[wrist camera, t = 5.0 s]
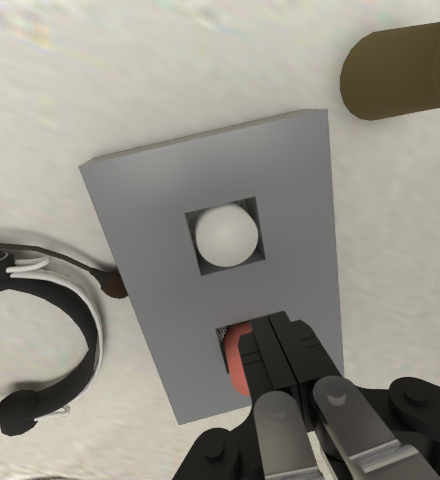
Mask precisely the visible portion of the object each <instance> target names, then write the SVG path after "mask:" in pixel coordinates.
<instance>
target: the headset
mask: <svg viewBox="0 0 440 480" xmlns="http://www.w3.org/2000/svg"><path fill="white" fill-rule="evenodd" d="M0 248H6V249H19V250H32V251H38V252H41V253H44V254H47V255H50V256H54V257H57V258H60V259H63V260H65V261H67V262H70V263H72V264H74V265H76V266H78V267H80V268H82V269H85V270H87V271H89V273H90V274H91V275H93V276H94V277H95V278H96V279H97V280H98V282H99V283H100V285H101V290H102V291H103V292H105V293H106V294H107V295H108V296H110V297H113V298H118V299H121V298H125V297H127V296H128V293H127V290H126V288H125V285H124V283H123V280H122V277H121V275H120V273H118V272H116V271H112V272H104V271H100V270H98V269H95V268H91V267H89V266H87V265H85V264H82V263H80V262H78V261H76V260H74V259H72V258H70V257H68V256H65V255H62V254H59V253H56V252H53V251H50V250H47V249H44V248H41V247H37V246H26V245H15V244H4V243H0ZM50 260H51V257H49V256H44V257H41V258H37V259H28V260H15V259H14V255H12V254H10V253H9V252H6V251H0V291H3V290H7V289H12V290H16V291H21V292H25V293H30V294H32V295H35V296H38V297H40V298H43V299H45V300H47V301H48V302H50V303H52V304H54V305H55V306H57V307H59V308H60V309H62V310H63V311H64V312H65V313H66V314H68V315H69V316H70V317H71V318H72V319H73V321H74V322H75V323H76V324H77V325H78V326H79V328H80V329H81V331H82V333H83V335H84V336H85V339H86V342H87V345H88V348H89V351H88V352H87V354H86V356H85V357H84V359H83V361H82V362H81V363H80V364H79V366H78V367H77V368H76V369H75V370H74V371H73V372H72V373H70V374H69V375H68V376H67V377H66V378H64V379H63V380H61V381H60V382H58V383H56V384H55V385H53V386H50V387H48V388H46V389H44V390H41V391H38V392H34V391H33V390H20V391H17V392H14V393H11V394H10V395H9V396H7V397H6V398H4V399H3V400H2V401H1V402H0V428H1V432H2V433H3V434H5V435H8V436H15V435H20V434H23V433H25V432H27V431H28V430H30V429H31V428H33V427H34V426H35V425H36V423H37V422H38V421H39V420H43V419H47V418H54V417H63V416H66V415H67V414H68V413H69V412H70V407H69V406H68V404H70V403H72V402H74V401H75V400H77V399H79V398H81V397H82V396H83V395H84V394H85V393H86V392H87V391H89V389H90V388H91V386H92V385H93V383H94V382H95V381H96V379H97V376H98V373H99V369H100V366H101V361H102V353H103V332H102V322H101V319H100V315H99V311H98V309H97V307H96V305H95V303H94V301H93V299H92V297H91V295H90V294H89V293H88V292H87V291H86V290H85V288H84V287H83V286H82V285H81V284H79V283H78V282H77V281H75V280H74V279H72V278H70V277H67V276H65V275H62V274H60V273H57V272H54V271H48V270H42V269H39V268H41V267H43V266H45V265H47V264H48V263H50ZM29 264H34V265H29ZM16 265H28V266H19V267H16ZM97 329H98V330H97ZM97 333H99V347H100V353H99V358H98V361H97V364H96V367H95V370H94V371H93V368H94V362H95V353H96V343H97ZM60 408H64V409H65V411H64V412H54V411H56V410H58V409H60ZM52 412H54V413H52Z"/></svg>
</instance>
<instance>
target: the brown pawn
mask: <svg viewBox="0 0 440 480" xmlns="http://www.w3.org/2000/svg"><path fill="white" fill-rule="evenodd" d="M340 91H341V95H342V98H343V101H344V104H345V105H346V107H347V108H348V109H349V111H350V112H351V113H352V114H354V115H355V116H357V117H358V118H360V119H365V120H370V121H372V120H377V119H383V118H388V117H393V116H398V115H404V114H409V113H414V112H419V111H425V110H430V109H435V108H440V22H437V23H430V24H424V25H417V26H411V27H404V28H397V29H391V30H384V31H378V32H373V33H371V34H370V35H368V36H366V37H364V38H362V39H361V40H360V41H359V42H358V43H357V44H356V45H355V46H354V47H353V48H352V49H351V51H350V53H349V55H348V57H347V58H346V60H345V62H344V65H343V69H342V73H341V76H340Z"/></svg>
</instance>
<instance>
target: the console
mask: <svg viewBox="0 0 440 480" xmlns="http://www.w3.org/2000/svg"><path fill="white" fill-rule="evenodd" d="M79 169H80V172H81V174H82V177H83V179H84V182H85V185H86V187H87V190H88V192H89V195H90V198H91V200H92V203H93V205H94V208H95V210H96V213H97V216H98V218H99V221H100V223H101V226H102V228H103V231H104V234H105V236H106V239H107V241H108V244H109V247H110V249H111V252H112V254H113V257H114V259H115V262H116V265H117V267H118V270H119V272H120V275H121V277H122V280H123V283H124V285H125V288H126V290H127V293H128V296H129V298H130V301H131V303H132V306H133V308H134V311H135V314H136V316H137V319H138V321H139V324H140V326H141V329H142V332H143V334H144V337H145V339H146V342H147V345H148V347H149V350H150V352H151V355H152V357H153V360H154V363H155V365H156V368H157V370H158V373H159V375H160V378H161V381H162V383H163V386H164V388H165V391H166V393H167V396H168V399H169V401H170V404H171V406H172V409H173V412H174V414H175V417H176V419H177V422H178V424H179V425H182V424H185V423H189V422H192V421H196V420H200V419H203V418H207V417H210V416H214V415H218V414H221V413H225V412H228V411H232V410H236V409H239V408H243V407H247V406H250V405H252V401H251V397H250V396H245V395H243V394H241V393H239V392H238V391H237V390H236V389H235V388H234V387H233V385H232V381H231V377H230V372H229V367H228V363H227V358H226V354H225V349H224V344H223V342H222V343H221V342H220V338H219V334H218V330H217V328H221V327H224V326H228V325H232V324H236V323H240V322H243V321H247V320H249V319H253V318H257V317H261V316H265V315H268V314H272V313H276V312H280V311H285V312H286V314H287V316H288V318H289V319H290V321H291V322H292V321H296V320H300V319H301V320H302V321H303V322H305V323H306V324H308V325H309V326H311V328H312V329H313V331H314V333H315V334H316V336H317V337H318V339H319V340H320V342H321V344H322V345H323V347H324V348H325V350H326V351H327V353H328V355H329V356H330V358H331V359H332V361H333V362H334V364H335V366H336V367H337V369H338V370H339V372H340V373H341V375H342V376H343V377H344V364H343V348H342V332H341V316H340V300H339V284H338V269H337V253H336V237H335V221H334V205H333V190H332V174H331V158H330V142H329V126H328V111H327V109H303V110H299V111H294V112H290V113H286V114H281V115H277V116H273V117H268V118H264V119H260V120H255V121H251V122H247V123H242V124H238V125H234V126H229V127H225V128H221V129H216V130H212V131H208V132H204V133H199V134H195V135H191V136H186V137H182V138H178V139H173V140H169V141H165V142H160V143H156V144H152V145H147V146H143V147H139V148H134V149H130V150H126V151H122V152H117V153H113V154H109V155H104V156H100V157H96V158H93V159H91V160H89V161H87V162H86V163H84V164H82V165H80V166H79ZM242 199H246V202H247V207H248V213H249V216H250V217H251V218H252V220H253V221H254V223H255V225H256V227H257V231H258V241H257V245H256V248H255V250H254V251H253V253H252V254H251V255H250V256H249V257H248V258H247V259H246V260H245V261H243V262H242V263H240V264H237V265H234V266H230V267H221V266H217V265H214V264H211V263H210V262H208V261H207V260H206V259H204V257H203V256H202V255H201V254H200V253H198V254H197V251H196V247H195V243H194V240H193V236H192V232H191V228H190V225H189V221H188V217H187V213H188V212H193V211H197V210H201V209H205V208H209V207H213V206H217V205H221V204H225V203H229V202H234V201H238V200H242Z"/></svg>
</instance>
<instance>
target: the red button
mask: <svg viewBox="0 0 440 480" xmlns="http://www.w3.org/2000/svg"><path fill="white" fill-rule="evenodd" d="M247 333H251V328H250V324H249V320H247V321H243V322H240V323H236V324H232V325H231V326H230V327H229V328H228V330H227V331H226V333H225V335H224V339H223V344H224V349H225V354H226V358H227V363H228V367H229V372H230V377H231V381H232V385H233V387H234V388H235V389H236V390H237V391H238V392H239V393H241V394H243V395H245V396H250V393H249V390H248V386H247V382H246V378H245V375H244V371H243V366H242V362H241V358H240V354H239V350H238V346H237V345H238V341H239V338H240V335H243V334H247Z"/></svg>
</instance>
